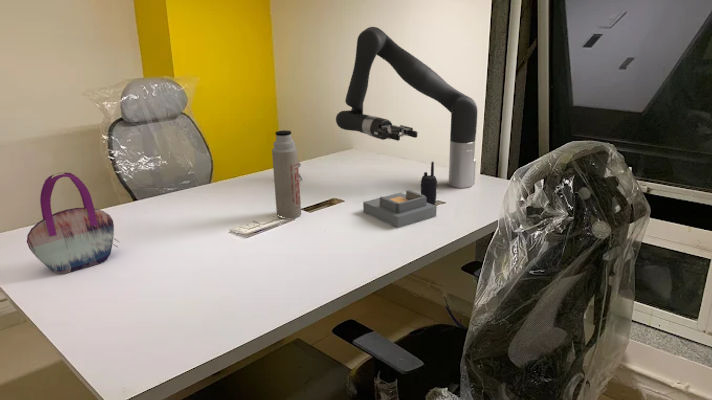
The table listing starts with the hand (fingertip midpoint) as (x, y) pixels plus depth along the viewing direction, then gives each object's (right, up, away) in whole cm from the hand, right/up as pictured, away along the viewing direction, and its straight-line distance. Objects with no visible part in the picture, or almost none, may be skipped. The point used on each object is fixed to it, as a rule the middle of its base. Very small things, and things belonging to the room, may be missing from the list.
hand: (408, 136), depth 178 cm
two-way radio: (+7, -24, -2) cm, 25 cm away
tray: (-4, -27, -10) cm, 29 cm away
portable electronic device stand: (-44, -14, +29) cm, 55 cm away
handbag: (-93, -39, -40) cm, 108 cm away
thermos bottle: (-40, -27, -9) cm, 49 cm away
